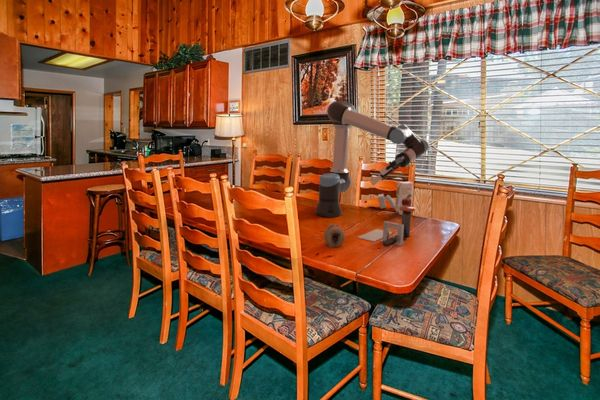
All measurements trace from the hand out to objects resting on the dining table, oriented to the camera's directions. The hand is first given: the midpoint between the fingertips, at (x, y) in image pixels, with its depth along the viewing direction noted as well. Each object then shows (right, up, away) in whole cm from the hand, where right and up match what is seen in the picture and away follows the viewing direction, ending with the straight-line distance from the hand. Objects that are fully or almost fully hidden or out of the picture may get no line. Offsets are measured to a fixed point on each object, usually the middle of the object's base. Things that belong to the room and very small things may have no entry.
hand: (376, 178), depth 195 cm
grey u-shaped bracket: (+3, -30, -22) cm, 38 cm away
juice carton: (+23, -19, +32) cm, 44 cm away
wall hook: (+16, -17, +45) cm, 51 cm away
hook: (+6, -30, -19) cm, 36 cm away
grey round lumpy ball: (-24, -31, -27) cm, 48 cm away
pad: (-3, -28, -12) cm, 31 cm away
